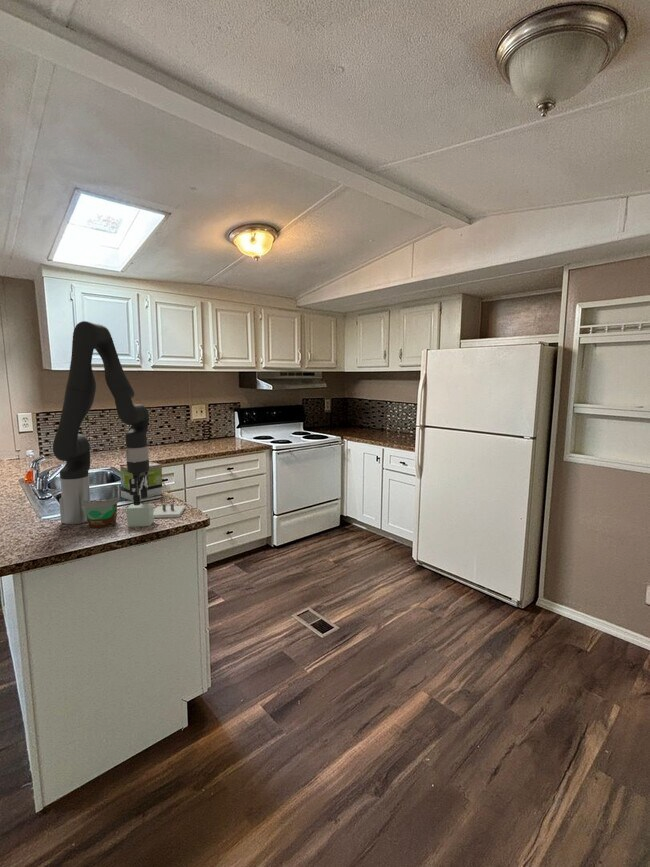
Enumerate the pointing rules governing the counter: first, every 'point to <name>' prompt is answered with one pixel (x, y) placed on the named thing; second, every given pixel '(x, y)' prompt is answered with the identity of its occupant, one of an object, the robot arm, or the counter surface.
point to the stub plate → (168, 511)
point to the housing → (140, 515)
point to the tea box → (154, 481)
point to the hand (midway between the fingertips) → (140, 501)
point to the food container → (101, 512)
